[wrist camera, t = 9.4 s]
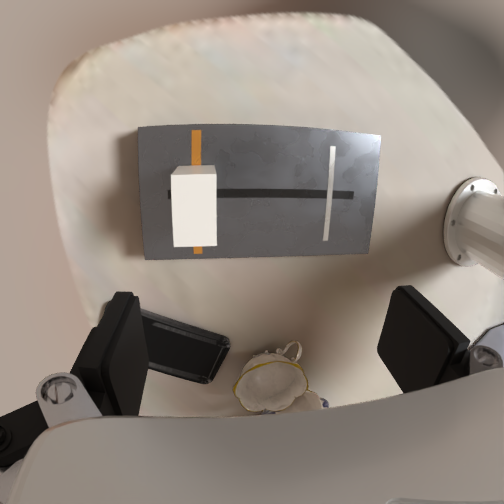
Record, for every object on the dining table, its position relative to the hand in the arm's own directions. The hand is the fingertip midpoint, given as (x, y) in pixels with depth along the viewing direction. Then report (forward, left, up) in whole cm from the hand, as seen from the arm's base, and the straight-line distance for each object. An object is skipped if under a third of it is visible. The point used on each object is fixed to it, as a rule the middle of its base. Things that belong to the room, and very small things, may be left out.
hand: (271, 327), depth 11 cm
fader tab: (+3, -1, -18) cm, 18 cm away
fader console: (-3, -1, -21) cm, 21 cm away
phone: (+8, +17, -22) cm, 29 cm away
